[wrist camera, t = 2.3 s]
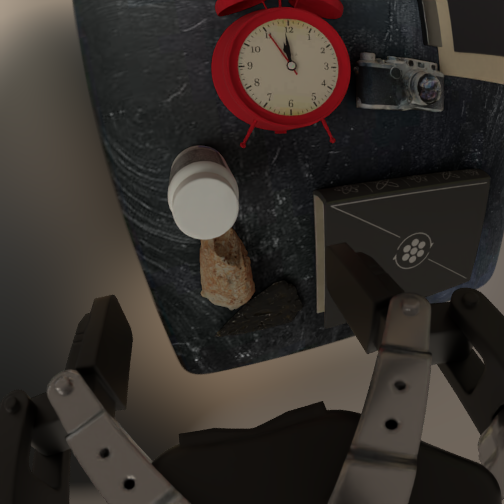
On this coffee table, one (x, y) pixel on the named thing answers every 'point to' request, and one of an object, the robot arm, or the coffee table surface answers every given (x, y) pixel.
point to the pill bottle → (202, 193)
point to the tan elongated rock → (226, 271)
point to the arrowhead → (265, 310)
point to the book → (404, 230)
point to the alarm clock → (281, 64)
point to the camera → (398, 84)
